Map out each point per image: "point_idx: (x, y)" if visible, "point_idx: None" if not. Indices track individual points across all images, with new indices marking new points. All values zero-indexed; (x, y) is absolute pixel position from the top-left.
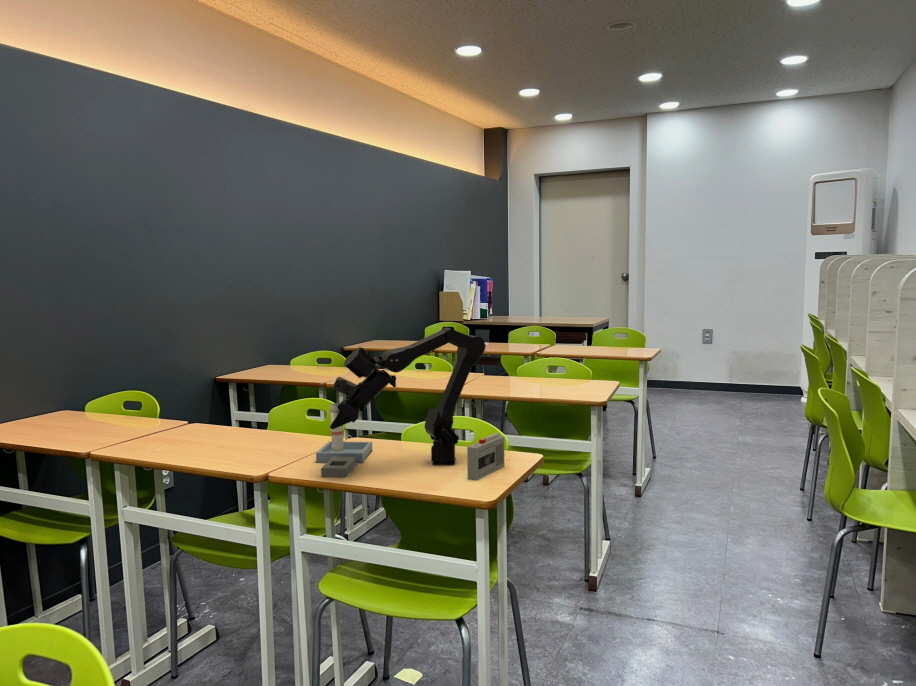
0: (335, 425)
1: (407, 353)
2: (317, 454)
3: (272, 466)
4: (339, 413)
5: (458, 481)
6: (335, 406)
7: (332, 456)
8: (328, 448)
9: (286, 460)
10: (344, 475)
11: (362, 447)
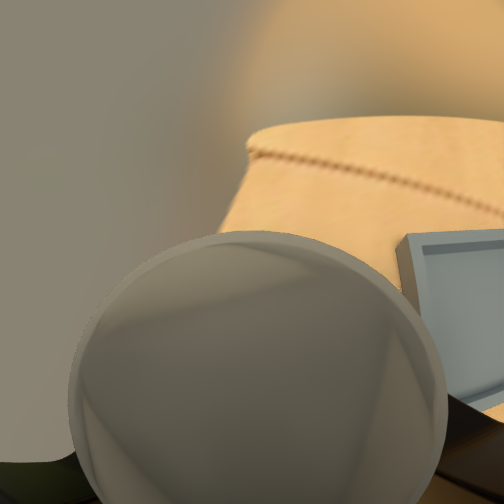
0: None
1: None
2: (406, 241)
3: (327, 142)
4: (72, 463)
5: None
6: (87, 418)
7: (413, 303)
8: (496, 245)
9: (393, 155)
10: None
11: None
